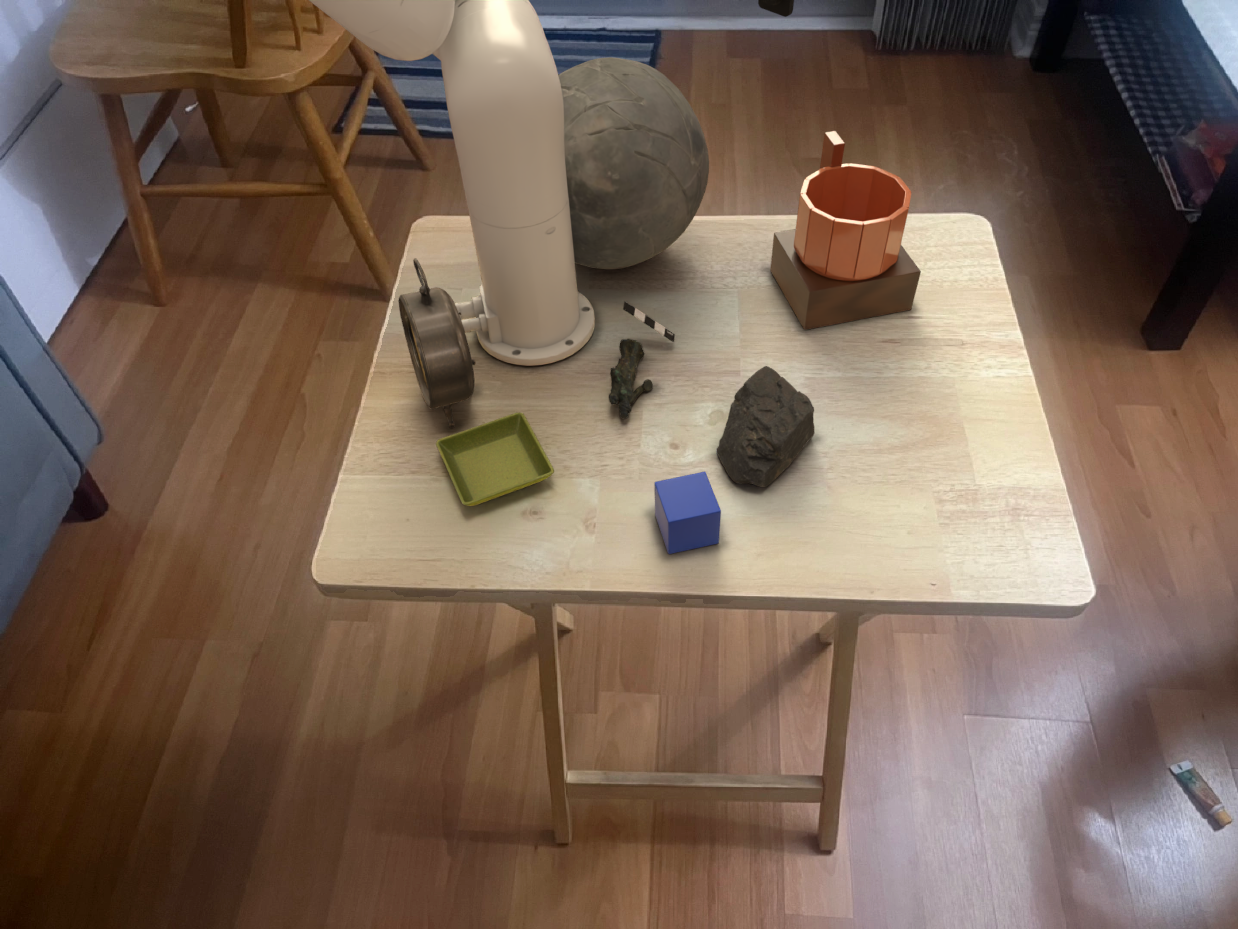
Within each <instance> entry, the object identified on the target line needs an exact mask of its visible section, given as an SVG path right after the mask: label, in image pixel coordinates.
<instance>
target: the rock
mask: <svg viewBox="0 0 1238 929" xmlns="http://www.w3.org/2000/svg"><path fill="white" fill-rule="evenodd" d="M733 397H734V399H733V401H732V402H731V404H730V408H729V413H728V417H727V420H726V423H725V427H724V429H723V433H722V436H721V438H720V439H719V441H718V446H717V448H716V454H717V456H718V457H719V461H720V462H721V464H722V466H723V467H724V469H725V472H726V473H727V475H728V477H730V479H731V480H732V481H733V482H734V483H736V484H749V485H755V486H756V487H760V488H765V487H766V488H767V487H769V486H770V485H771V484H772V483H773V482H774V481H775V480H776V479H777V478H778V477H779V476H781V474H782V473H783V472H784V471H785V470H787V469H788V468H789V467H790V466H791V465H792V463H793V461H794V459H796V457H798V455H799V453H801V451H802V450H803V449H804V447H805V446H806V445H807V443H808V442H809V441H810V440H811V439H812V438H813V437H814V435H815V422H814V412H815V407H814V406H813V403H812V401H811V399H810V398H809V396H808V395H807V394H805V393H803V392H802V391H800V390H797V389H796V388H795V387H794V386H793V385H792V384H791V383H790V382H789V381H788V380H787V379H786V378H784V377H783V376H781V375H780V374H779V372H777V371H776V370H775V369H774V368H772V367H770V366H768V365H765V366H763V367H761V368H759V369H758V370H756V371H755V372H754V373H753V374H752V375H751V376H750V377H749V378H748V379H747V380H746V381H745V382H743V384H742V386H741V387H740V388H738V390H737V392H736V393H735V394H734V396H733Z"/></svg>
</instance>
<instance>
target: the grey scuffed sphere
mask: <svg viewBox="0 0 1238 929" xmlns="http://www.w3.org/2000/svg"><path fill="white" fill-rule="evenodd" d="M558 76H559V80H560V84H561V90H562V96H563V106H564V152H565V166H566V177H567V188H568V197H569V207H570V218H571V229H572V239H573V250H574V261H575V264H577V265H580V266H585V267H588V268H593V269H600V270H618V269H626V268H630V267H632V266H635V265H638V264H641V263H643V262H645V261H648V260H649V259H652V258H655V257H656V256H658V255H659V254H661V253H662V252H664V251H665V250H667V249H668V248H669V247H671V246H672V244H674V243H675V242H676V241H677V240H678V239H679V238H680V237H681V236H682V235H683V234H684V233H685V231H686V230H687V229H688V228H689V227H690V225H691V223H692V221H693V220H694V218H695V217H696V214H697V212H698V211H699V208H700V206H701V204H702V201H703V198H704V196H705V193H706V190H707V186H708V183H709V182H708V181H709V175H710V174H709V173H710V157H709V149H708V144H707V140H706V137H705V134H704V130H703V128H702V126H701V124H700V121H699V117H697V115H696V113H695V111H694V109H693V107H692V106H691V104H690V103H689V101H688V100H687V99H686V97H685V96H684V94H683V93H682V91H681V90H680V89H679V88H678V87H677V86H676V84H674V83H673V82H672V81H671V80H670V79H669V78H668V77H667V76H666V75H665V74H664V73H662V72H660V71H659V70H657V69H656V68H654V67H652V66H650V65H648V64H646V63H643V62H640V61H637V60H631V59H625V58H620V57H611V56H610V57H600V58H598V57H597V58H594V59H590V60H587V61H585V62H582V63H579V64H576V65H575V66H573V67H570V68H568V69H566V70H564V71H562V72H561V73H558Z"/></svg>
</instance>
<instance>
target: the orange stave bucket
mask: <svg viewBox="0 0 1238 929" xmlns="http://www.w3.org/2000/svg"><path fill="white" fill-rule="evenodd" d="M822 142H823V143H822V149H821V157H820V164H819V169H817V170H816V171H815V172H813V173H811V174H809V175H808V176H806V177H805V178H804V179H803V182H802V185H801V188H800V192H799V199H798V206H797V215H796V222H795V229H796V230H795V238H794V249H795V251H796V252H797V254H798V255H799V258H800V260H801V261H802V262H803V263H804V264H805V265H806V266H807V267H808V268H809V269H810V270H812V271H814V272H815V273H817V274H820V275H822V276H825V277H828V278H831V279H836V280H844V281H858V280H865V279H869V278H873V277H876V276H878V275H880V274H882V273H883V272H885V271H886V270H887V269H888V268H889V267H890V266H892V265H893V264H894V263H896V261H897V259H898V255H899V250H900V246H901V245H902V240H903V236H904V232H905V228H906V225H907V224H906V223H907V220H908V219H907V218H908V214H909V210H910V205H911V200H912V190H911V189H910V188H909V187H908V186H907V184H906V183H905V182H904V181H903V179H902V178H901V177H899V175H896V174H894V173H892V172H889V171H888V170H885V169H883V168H881V167H878V166H875V165H868V164H866V165H865V164H860V163H859V164H858V163H851V162H850V163H843V160H844V152H845V145H846V143H845V142H844V140H843V139H842V137H841V136H840V135H839V133H837V131H836V130H832V131H826V132H824V133H823V141H822Z"/></svg>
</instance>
